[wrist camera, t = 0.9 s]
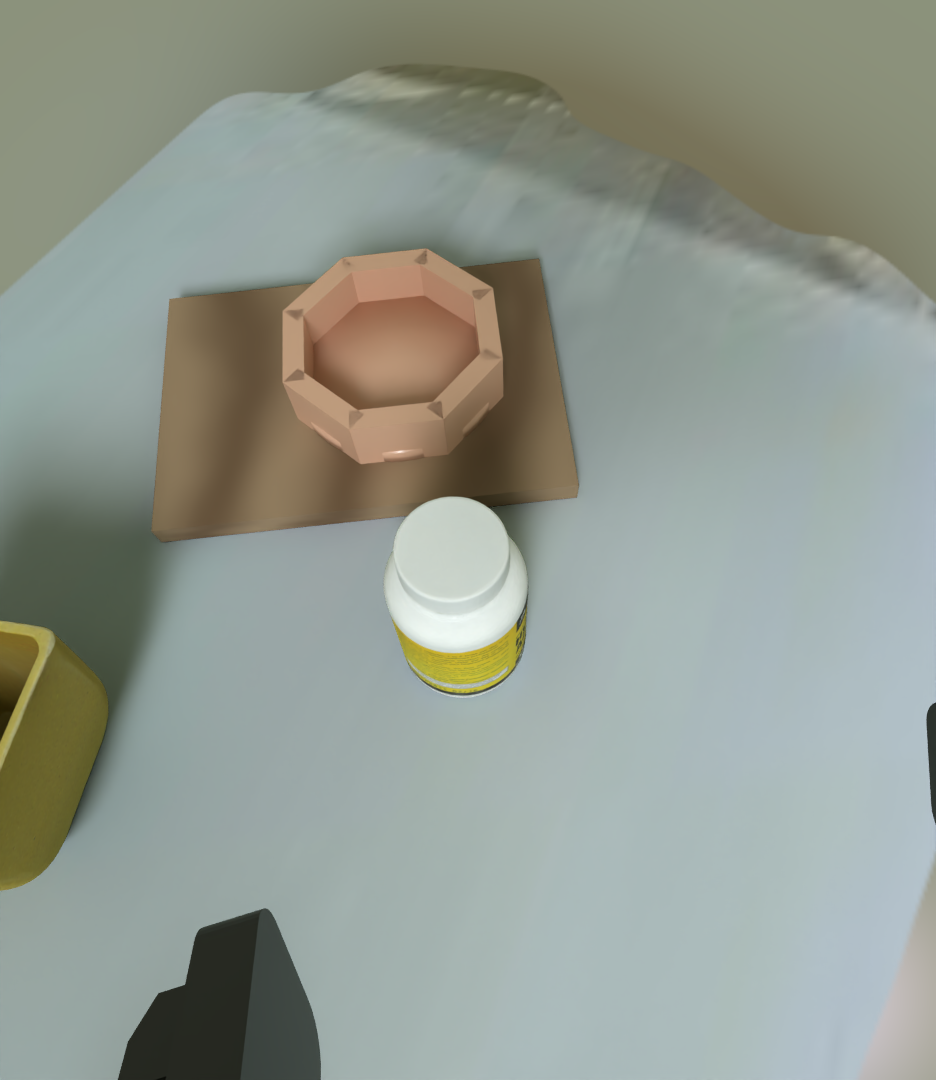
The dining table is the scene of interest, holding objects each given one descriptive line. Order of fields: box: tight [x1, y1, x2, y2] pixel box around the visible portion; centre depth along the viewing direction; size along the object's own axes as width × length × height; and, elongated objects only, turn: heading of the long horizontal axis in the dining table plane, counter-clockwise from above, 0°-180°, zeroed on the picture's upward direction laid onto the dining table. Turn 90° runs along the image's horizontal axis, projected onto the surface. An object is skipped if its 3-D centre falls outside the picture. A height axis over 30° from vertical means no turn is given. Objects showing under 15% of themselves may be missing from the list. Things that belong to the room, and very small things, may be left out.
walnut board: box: [151, 259, 579, 542], centre depth 42 cm, size 20×14×1 cm
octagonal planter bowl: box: [282, 249, 503, 464], centre depth 40 cm, size 10×10×3 cm
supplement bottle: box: [384, 497, 528, 698], centre depth 32 cm, size 5×5×10 cm
